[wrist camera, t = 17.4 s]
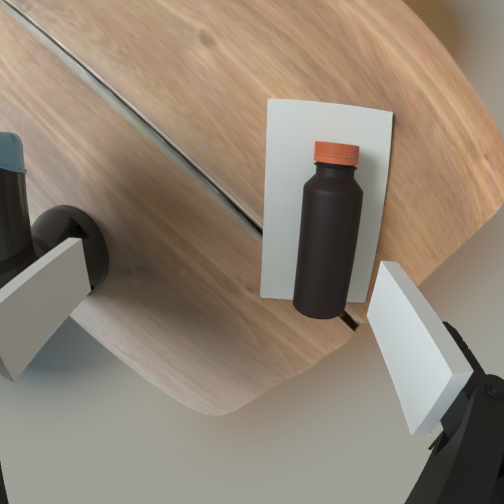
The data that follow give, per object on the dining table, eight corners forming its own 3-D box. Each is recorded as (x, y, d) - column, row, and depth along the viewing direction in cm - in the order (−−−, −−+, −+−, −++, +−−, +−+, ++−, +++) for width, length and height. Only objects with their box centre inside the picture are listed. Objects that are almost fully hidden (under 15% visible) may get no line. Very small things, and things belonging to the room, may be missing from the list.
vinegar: (281, 303, 38) (293, 139, 31) (315, 288, 42) (331, 142, 35) (321, 327, 33) (345, 144, 26) (354, 308, 37) (379, 148, 30)
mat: (260, 295, 43) (260, 297, 42) (268, 98, 32) (267, 98, 32) (364, 300, 41) (364, 302, 41) (391, 112, 31) (392, 112, 31)
